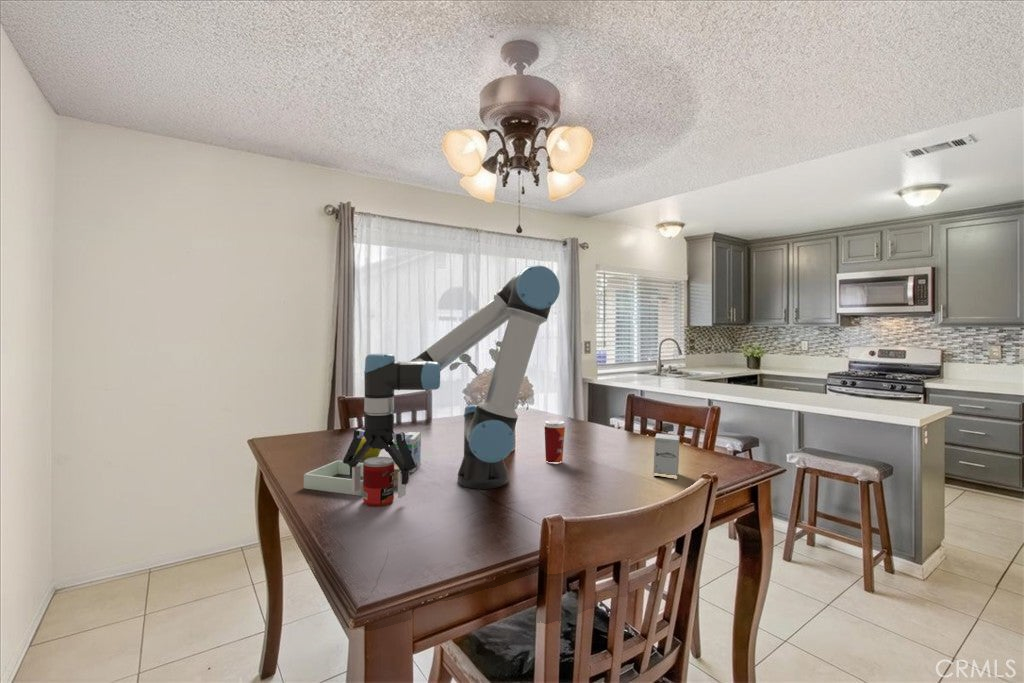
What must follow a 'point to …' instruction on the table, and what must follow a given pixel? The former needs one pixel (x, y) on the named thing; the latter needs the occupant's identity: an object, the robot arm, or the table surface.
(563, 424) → the paper cup
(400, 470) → the maple block
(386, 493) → the canned food
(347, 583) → the table surface
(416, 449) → the light bulb box
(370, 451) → the lemon
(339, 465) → the box
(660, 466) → the supplement box
